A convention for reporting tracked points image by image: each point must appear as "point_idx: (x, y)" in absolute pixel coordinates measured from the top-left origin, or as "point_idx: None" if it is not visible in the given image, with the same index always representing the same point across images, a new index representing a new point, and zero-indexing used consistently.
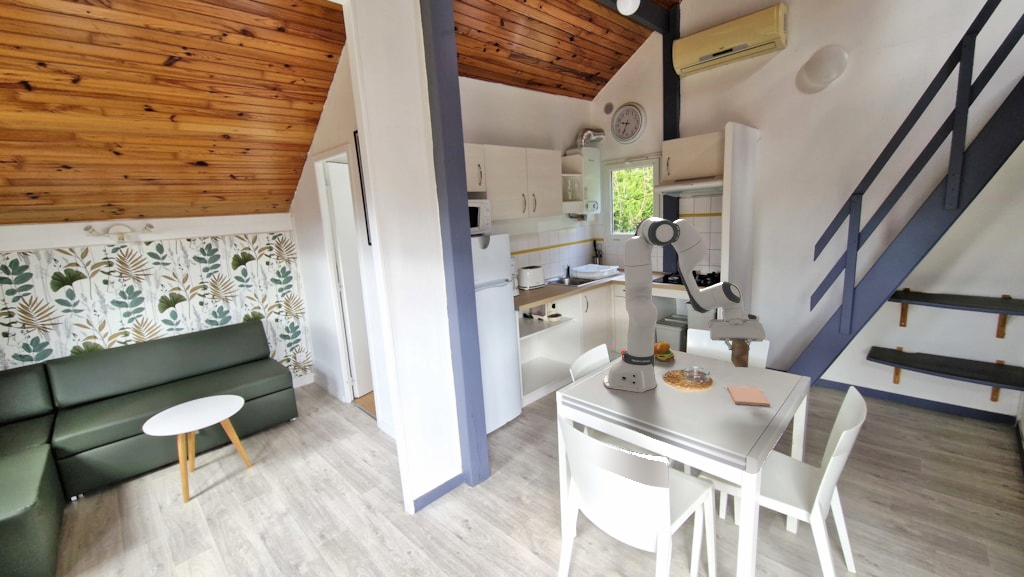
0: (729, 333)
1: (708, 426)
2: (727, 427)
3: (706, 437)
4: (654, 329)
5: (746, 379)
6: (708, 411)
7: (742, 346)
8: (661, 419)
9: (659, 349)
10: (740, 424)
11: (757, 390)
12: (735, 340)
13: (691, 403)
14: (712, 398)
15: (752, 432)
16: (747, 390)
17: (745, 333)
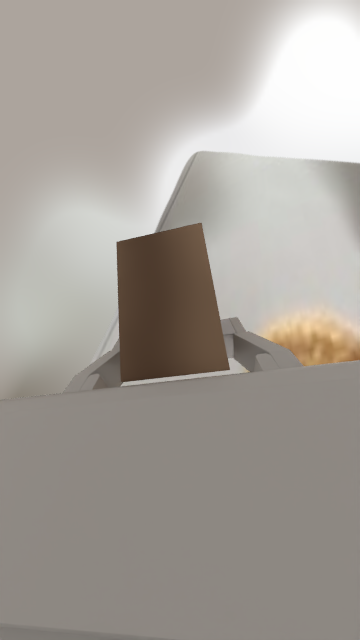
0: (295, 425)
1: (247, 191)
2: (218, 199)
3: (248, 163)
4: None
5: None
6: (250, 237)
7: (161, 237)
8: (331, 179)
9: None
10: (199, 215)
11: None
12: (200, 343)
13: (286, 256)
14: (245, 293)
15: (184, 201)
16: None
17: (55, 449)
